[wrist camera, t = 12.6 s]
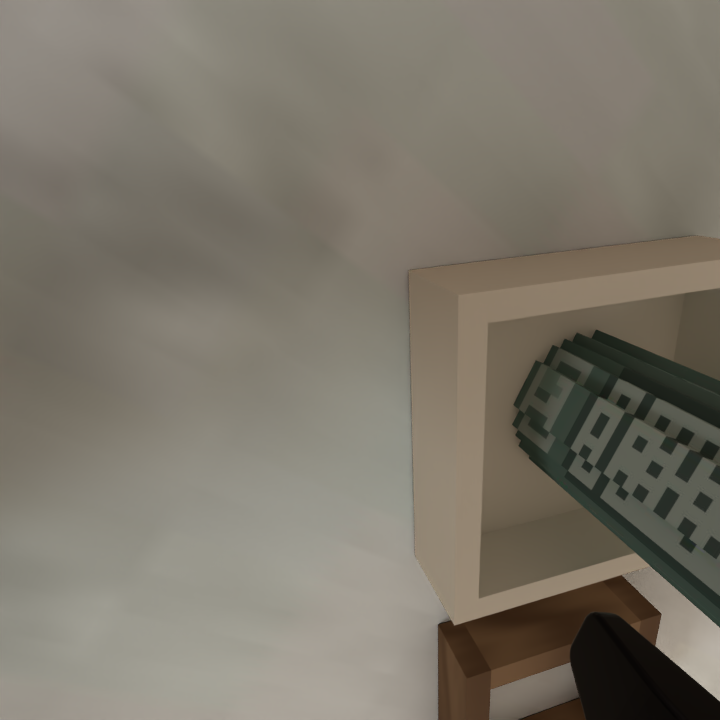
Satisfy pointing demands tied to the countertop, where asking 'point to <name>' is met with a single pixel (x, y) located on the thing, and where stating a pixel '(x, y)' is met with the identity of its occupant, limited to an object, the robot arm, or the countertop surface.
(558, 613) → the holder
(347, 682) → the countertop surface
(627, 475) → the can
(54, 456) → the countertop surface
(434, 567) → the bin
